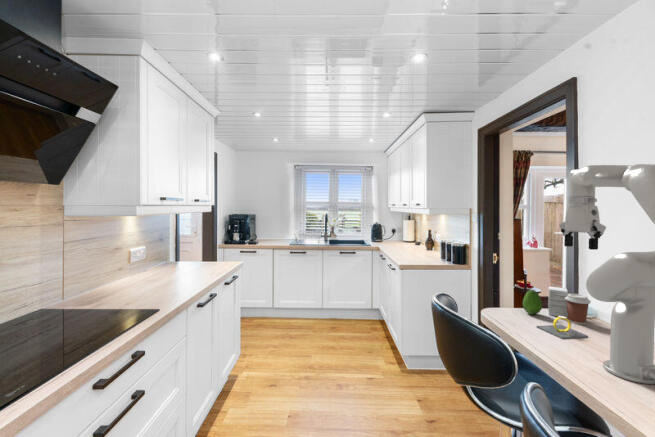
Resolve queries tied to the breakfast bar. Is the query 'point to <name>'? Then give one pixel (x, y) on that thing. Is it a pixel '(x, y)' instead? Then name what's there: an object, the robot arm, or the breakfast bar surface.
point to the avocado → (532, 302)
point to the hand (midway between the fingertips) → (580, 247)
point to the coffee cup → (577, 308)
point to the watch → (568, 328)
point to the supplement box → (558, 301)
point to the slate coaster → (562, 332)
